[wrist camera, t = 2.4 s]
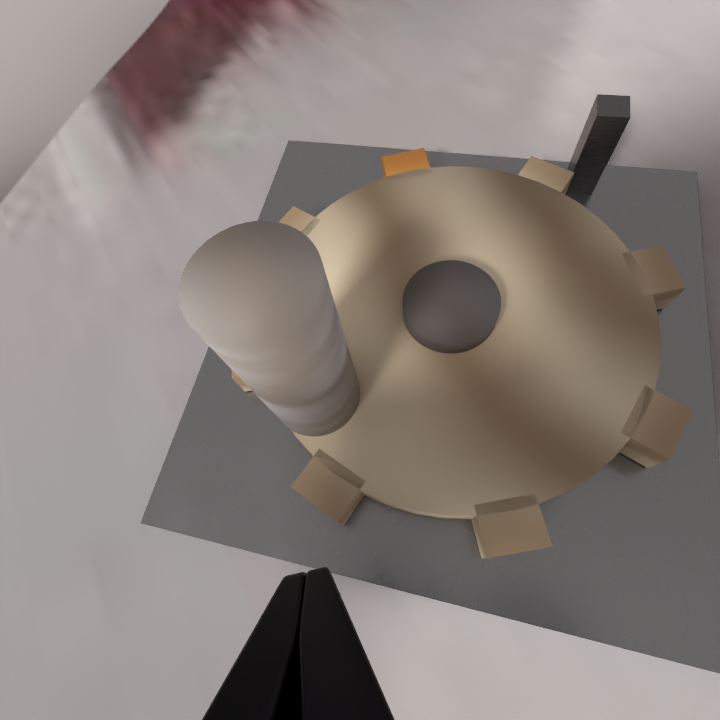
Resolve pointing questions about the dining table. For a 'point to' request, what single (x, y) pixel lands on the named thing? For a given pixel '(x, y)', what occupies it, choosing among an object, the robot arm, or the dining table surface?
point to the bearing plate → (561, 514)
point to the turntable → (446, 342)
